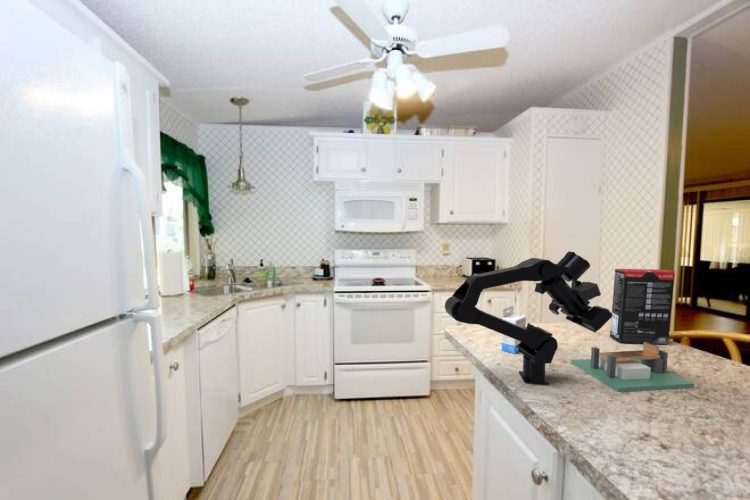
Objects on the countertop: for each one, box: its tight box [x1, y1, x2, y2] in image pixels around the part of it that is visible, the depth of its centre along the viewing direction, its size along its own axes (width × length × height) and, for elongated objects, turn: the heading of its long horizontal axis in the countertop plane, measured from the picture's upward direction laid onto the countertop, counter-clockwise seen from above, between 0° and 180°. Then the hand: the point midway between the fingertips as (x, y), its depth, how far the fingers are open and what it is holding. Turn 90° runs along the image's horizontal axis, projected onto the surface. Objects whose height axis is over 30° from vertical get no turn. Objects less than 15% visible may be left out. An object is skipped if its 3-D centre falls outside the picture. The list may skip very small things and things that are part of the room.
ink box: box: [501, 305, 527, 355], centre depth 116 cm, size 8×5×15 cm, turn 134°
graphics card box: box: [609, 268, 676, 346], centre depth 122 cm, size 17×7×27 cm, turn 84°
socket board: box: [570, 346, 695, 392], centre depth 96 cm, size 22×18×7 cm
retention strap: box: [598, 342, 661, 361], centre depth 96 cm, size 16×4×4 cm, turn 96°
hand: (595, 331), depth 94 cm, fingers closed
